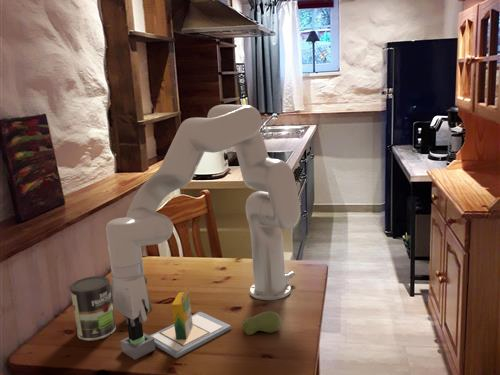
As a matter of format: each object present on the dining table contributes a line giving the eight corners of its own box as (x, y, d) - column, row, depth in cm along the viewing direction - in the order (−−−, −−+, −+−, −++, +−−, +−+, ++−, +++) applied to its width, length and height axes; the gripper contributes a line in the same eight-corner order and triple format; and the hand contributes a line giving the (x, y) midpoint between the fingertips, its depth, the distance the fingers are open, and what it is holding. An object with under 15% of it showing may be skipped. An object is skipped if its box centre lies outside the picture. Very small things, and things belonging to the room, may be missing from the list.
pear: (277, 316, 128) (239, 323, 130) (282, 334, 130) (244, 341, 131) (278, 305, 134) (241, 312, 135) (282, 323, 135) (246, 330, 136)
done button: (140, 344, 130) (139, 332, 129) (148, 349, 128) (147, 336, 127) (128, 350, 128) (126, 337, 127) (136, 355, 125) (134, 342, 124)
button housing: (142, 341, 132) (141, 331, 131) (155, 349, 127) (154, 338, 127) (122, 351, 128) (120, 340, 127) (134, 359, 124) (133, 348, 123)
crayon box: (182, 325, 136) (177, 285, 133) (193, 325, 136) (188, 285, 133) (175, 339, 129) (170, 297, 126) (186, 339, 128) (182, 297, 126)
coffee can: (124, 326, 141) (117, 279, 137) (95, 344, 132) (87, 294, 129) (98, 319, 146) (91, 273, 143) (69, 335, 138) (61, 287, 134)
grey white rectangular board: (200, 314, 144) (200, 310, 144) (231, 329, 135) (230, 324, 135) (146, 340, 132) (146, 336, 132) (176, 358, 123) (175, 353, 123)
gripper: (98, 266, 125) (107, 334, 130) (130, 281, 115) (139, 354, 119) (125, 257, 130) (133, 322, 135) (157, 271, 120) (166, 341, 124)
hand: (136, 337), depth 127 cm, fingers closed
